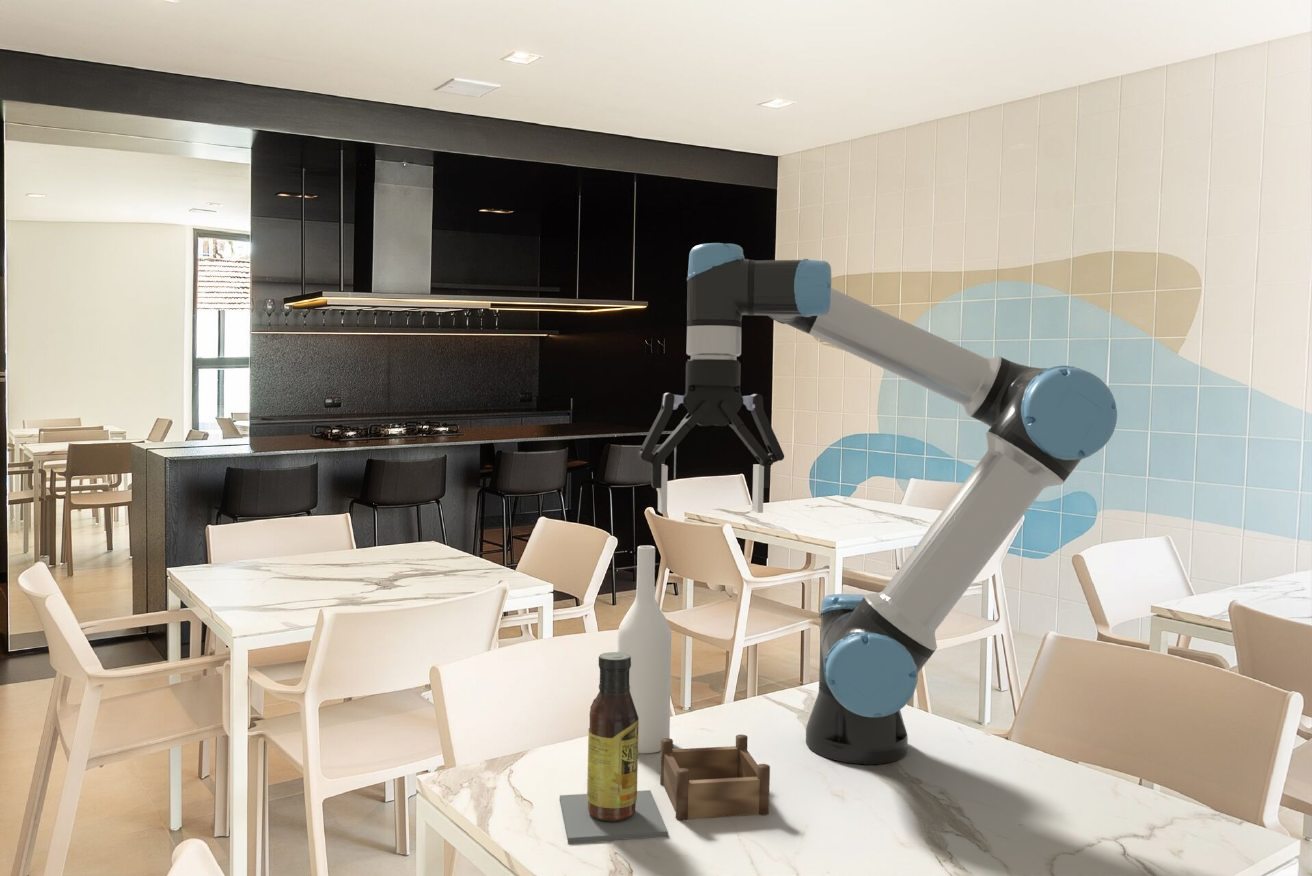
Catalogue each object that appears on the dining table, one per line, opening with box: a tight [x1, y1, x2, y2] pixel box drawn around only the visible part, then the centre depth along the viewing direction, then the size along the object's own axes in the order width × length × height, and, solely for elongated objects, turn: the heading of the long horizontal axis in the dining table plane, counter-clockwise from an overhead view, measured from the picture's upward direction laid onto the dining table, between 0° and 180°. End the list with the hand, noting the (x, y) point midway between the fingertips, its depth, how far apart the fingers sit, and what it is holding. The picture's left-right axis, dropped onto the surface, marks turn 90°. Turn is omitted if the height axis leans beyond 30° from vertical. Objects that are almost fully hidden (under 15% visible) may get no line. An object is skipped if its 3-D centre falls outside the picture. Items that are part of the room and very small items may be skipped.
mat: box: [559, 789, 669, 844], centre depth 122 cm, size 12×12×1 cm
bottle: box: [616, 545, 673, 754], centre depth 146 cm, size 8×8×30 cm
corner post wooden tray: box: [659, 734, 771, 821], centre depth 129 cm, size 12×12×6 cm
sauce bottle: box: [586, 651, 639, 821], centre depth 122 cm, size 7×6×20 cm
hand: (710, 512), depth 136 cm, fingers open, 13 cm apart
